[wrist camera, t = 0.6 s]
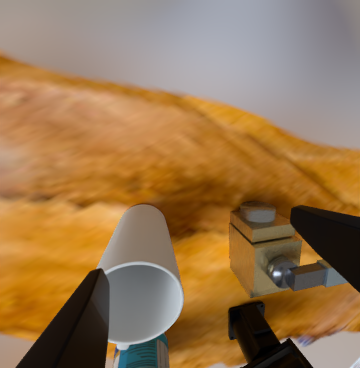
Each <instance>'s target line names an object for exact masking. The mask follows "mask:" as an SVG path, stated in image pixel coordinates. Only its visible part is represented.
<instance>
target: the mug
mask: <svg viewBox="0 0 360 368" xmlns="http://www.w3.org/2000/svg"><path fill="white" fill-rule="evenodd" d="M98 268H102V269H103V270H104V272H105V274H106V276H107V278H108V280H109V284H110V308H109V336H108V342H111V343H115V344H117V349H119V350H126V349H128V348H129V345H131V344H138V343H143V342H146V341H149V340H151V339H154V338H156V337H157V336H159V335H161V334H162V333H164V332H165V331H166V330H168V329H169V328H170V327H171V326H172V325H173V324H174V322H175V321H176V320H177V318H178V317H179V315H180V313H181V310H182V307H183V303H184V293H183V288H182V285H181V280H180V275H179V270H178V266H177V263H176V259H175V255H174V251H173V247H172V243H171V239H170V235H169V231H168V227H167V224H166V220H165V217H164V215H163V214H162V212H161V211H160V210H158V209H157V208H156V207H154V206H151V205H146V204H141V205H136V206H133V207H131V208H129V209H128V210H127V211H126V212H125V213H124V214H123V215H122V217H121V219H120V221H119V223H118V225H117V227H116V229H115V231H114V233H113V235H112V237H111V239H110V241H109V244H108V246H107V248H106V250H105V252H104V254H103V256H102V258H101V260H100V262H99V264H98V266H97V268H96V269H98Z"/></svg>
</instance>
